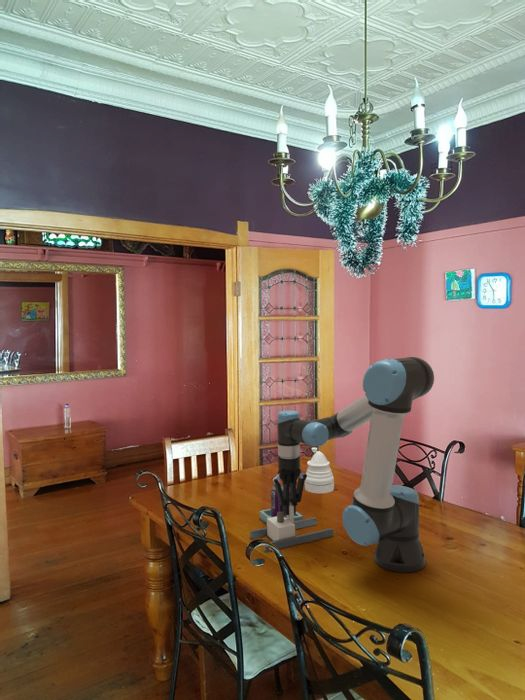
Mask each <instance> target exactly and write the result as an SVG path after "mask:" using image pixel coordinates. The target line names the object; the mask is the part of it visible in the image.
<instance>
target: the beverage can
mask: <svg viewBox="0 0 525 700" xmlns="http://www.w3.org/2000/svg"><path fill="white" fill-rule="evenodd" d="M280 485H281V489H282V493H283V484H280ZM270 509H271V517H276V516H277V512H284V506H283V505H281V504H280V503H279V501H278V497H277V493H276V489H275V485H273V486H272V487H271V491H270ZM284 517H285V518H286V514H285V513H284Z"/></svg>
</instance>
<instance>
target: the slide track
mask: <svg viewBox="0 0 525 700" xmlns="http://www.w3.org/2000/svg"><path fill="white" fill-rule="evenodd" d="M317 520H318V519H317V517H316V516H313V517H309V518H303V520H298V521H294V524H295V530H299V529H304V528H309V527H312V526H317ZM258 537H259V538H263V537H269V536H268V535H267V526H266V527H262V528H261V527H260V528H256V529H253V530H249V538H250V539H251V540H253V539H258ZM331 537H334V528H332V527H330V528H325V529H321V530H317V531H313V532H308V533H303V534H299V535H295V536H294V537H289V538H285V539H280V540H276V541H273V540H272V541H270V542H271V543H272V544H273V545H275V546H276V547H277V548H279V549H278V550H280V549H284V548H289V547H293V546H298V545H302V544H306V543H310V542H311V543H312V542H315V541H320V540H323V539H328V538H331ZM263 551H264V552H265V553H267V552H272V551H271V550H270V549H269V547H266V546H264V545H263Z"/></svg>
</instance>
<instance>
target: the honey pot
mask: <svg viewBox="0 0 525 700" xmlns="http://www.w3.org/2000/svg"><path fill="white" fill-rule="evenodd" d="M311 451H312V452H313V453H314V454H313V455H312V457H311V459H310V460H307V462H306V464H307V469H306V472H305V474H306V475H307V478H306V479H305V482H304V490H305V491H306V492H309V493H313V494H327V493H331V492H333V491H334V490H335V478H334V475H333V472H332V468H331V467H330V464H331V462H330V461H329V460H328V459H327V456H325V454H324V453H323V452H322V451H320V450H318V447H311Z"/></svg>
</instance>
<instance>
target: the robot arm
mask: <svg viewBox="0 0 525 700" xmlns="http://www.w3.org/2000/svg"><path fill="white" fill-rule="evenodd" d="M434 374H435V373H434V371H433V368H432V366H431V365H430V364H429V363H428V362H427V361H425V360H424V359H422V358H420V357H416V356H409V357H401V358H386V359H382V360H378V361H375V362H374V363H372V364H371V365H370V366H369V367H368V368H367V369H366V371H365V373H364V374H363V379H362V390H363V392H365V393H364V396H362V397H360V398H359V399H357V400H355V401H354V402H352V403H351V404H349V405H347V406H346V407H344V408H343V409H341V410H339V411H338V412H337V413H334V414H333V415H330V416H327V417H322V418H317V419H312V420H307V419H302V418H301V417H300V413H299V411H297V410H281V411H279V412H278V413H277V421H276V426H277V455H278V457H277V463H278V465H277V467H278V471H277V475H276V476H275V477H272V478H271V482H272V483H273V484H274V485H273V486H275V489H276V493H277V497H278V501H279V503H280V504H281V505H283V506H284V513H285V514H286V518H287V519H288V520H289V521H291V522H292V523H293V524H294V514H295V513H296V512H297V508H296V507H297V506H298V503H301V501H302V496H303V491H304V488H305V479H306V478H307V475H306V473H304V472H302V470H301V457H300V456H301V448H300V447H301V444H305V445H308V446H310V447H323V446H324V444H325V443H327V442H328V441H330V440H334V439H339V438H344V437H347V436H349V435H351V434H352V432H353V431H354V430H355V429H357V428H359V427H361V426H362V425H365V424H366V423H367V422H369V421H370V425H369V431H368V436H367V444H366V449H365V457H364V463H363V469H362V475H361V479H360V480H361V482H360V486H359V487H358V488H357V489H355V490H354V492H353V498H352V504H350V505H349V504H348V506H346V507H345V508H344V509H343V511H342V518H341V519H342V524H343V527H344V530H345V531H346V534H347V535H348V537H349V538H350V539H351V540H352V541H353V542H355V543H356V544H358V545H361V546H364V547H367V546H370V545H374V544H376V547H375V549H374V552H373V553H374V556H373V557H374V561H375V563H376V564H377V565H378V566H380V567H381V568H382V569H384V570H387V571H391V572H394V573H396V572H397V573H415V572H418V571H420V570H422V569H423V568H425V565H426V556H425V552H424V549H423V546H422V543H421V540H420V504H421V503H420V498H419V493H418V492H417V490H415V489H414V488H411V487H408V486H404V485H399V484H393V482H394V476H395V472H396V471H395V470H396V465H397V459H398V454H399V453H398V452H399V447H400V441H401V437H402V430H403V423H404V420H405V419H404V418H405V416H406V415H408V414H410V413H411V411H412V406H413V401H414V400H416V399H418V398H420V397H423V396H425V395H427V394H428V393H429V392H430V391H431V390H432V388H433V386H434V384H435V383H434V382H435V375H434ZM281 482H282V484H281ZM281 485H283V493H282V489H281Z"/></svg>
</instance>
